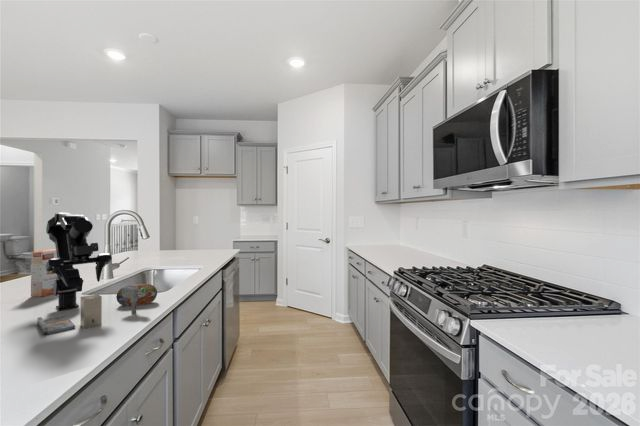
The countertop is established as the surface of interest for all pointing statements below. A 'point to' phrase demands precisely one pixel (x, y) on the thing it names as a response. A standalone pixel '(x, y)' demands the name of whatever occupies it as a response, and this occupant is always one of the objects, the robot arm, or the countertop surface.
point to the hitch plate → (55, 325)
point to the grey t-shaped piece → (133, 294)
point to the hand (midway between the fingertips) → (83, 283)
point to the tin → (147, 299)
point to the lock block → (91, 311)
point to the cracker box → (42, 273)
